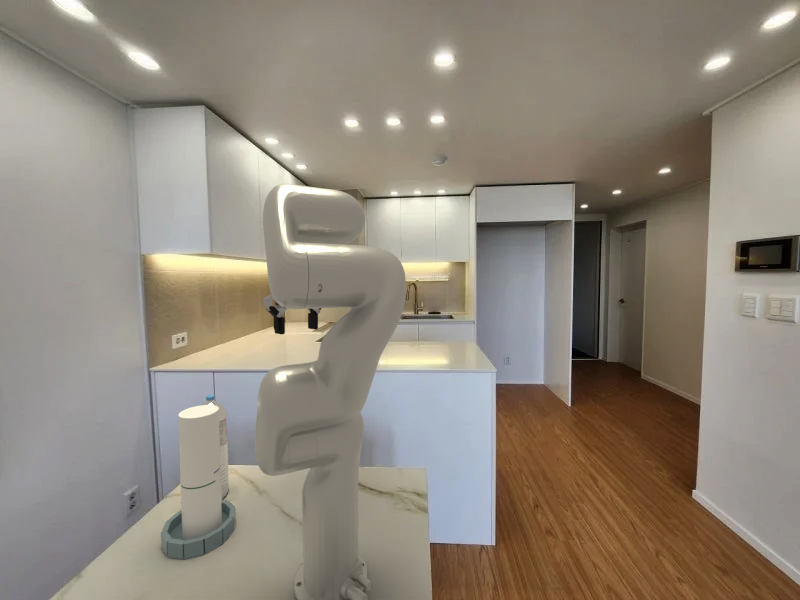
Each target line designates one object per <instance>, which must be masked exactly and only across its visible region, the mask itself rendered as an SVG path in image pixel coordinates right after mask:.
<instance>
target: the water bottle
mask: <svg viewBox="0 0 800 600" xmlns="http://www.w3.org/2000/svg"><path fill="white" fill-rule="evenodd" d="M205 399H206V400H205V401H206V402H205V403H204V404H202V405H215V406H218V407H219V433H220V469H221V500H223V499H224V498H225V497H226V496H227V495H228V492H229V488H230V487H229V484H230V483H229V482H230V481H229V479H230V477H229V452H228V451H229V448H228V447H229V446H228V443H229V442H228V433H227V432H228V430H227V429H228V428H227V426H228V425H227V416H228V414H227V413H228V411H227V409H226V407H224V405H223V404H221V403H220V402H218V401H216V396H215V394H208V395H206V396H205Z"/></svg>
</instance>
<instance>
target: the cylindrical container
mask: <svg viewBox="0 0 800 600" xmlns="http://www.w3.org/2000/svg"><path fill="white" fill-rule="evenodd" d="M177 415H178V441H179V443H178V444H179V475H180V476H179V477H180V503H181V504H180V505H181V510H182V536H183V538H184V539H185V540H190V539H194V538H198V537H202V536H205V535H207V534H209V533H210V532H212V531H214V530H216V529H218V528H219V527H220V526H221V525H222V507H221V500H222V499H221V469H220V433H219V407H218V406H215V405H203V404H202V405H196V406H191V407H188V408H186V409H184V410H182V411H180V412H179V413H178V414H177Z"/></svg>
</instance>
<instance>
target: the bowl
mask: <svg viewBox="0 0 800 600" xmlns="http://www.w3.org/2000/svg"><path fill="white" fill-rule="evenodd" d="M221 507H222V525H221V526H220V527H219V528H218V529H216V530H214V531H212V532H210V533H209V534H207V535H205V536H202V537H198V538H194V539H190V540H185V539H184V538H183V536H182V509H180V510H178V511H177V512H175V514H173V515H172V516H171V517H169V519H167V520H166V522H165V523H164V524H163V528H162V530H161V532H160V541H161V544H160V546H161V550H162V551H163V553H164V555H165V556H166V557H167V558H169V559H175V560H176V559H177V560H188V559H192V558H197V557H199V556H204V554H205V555H207V554H208V553H209V552H211V551H214V549H217V548H218V547H221V546H222V545H223V544H224V543H225V542H226V541H227V540H228V539H229V538H230V537H231V535H232V534H233V533H234V531H236V530H235V528H236V521H237V518H236V516H237V515H236V513H237V512H236V509H237V508H236V506H235V505H234V504H233V502H231V501H229V500H228V499H221Z"/></svg>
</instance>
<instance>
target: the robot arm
mask: <svg viewBox="0 0 800 600" xmlns="http://www.w3.org/2000/svg"><path fill="white" fill-rule="evenodd" d="M365 216H366V215H365V211H364V209H363V207H362V205H361V204H360V202H359V201H358V200H357V199H356V198H355V197H354V196H352V195H351V194H349V193H347V192H345V191H342V190H339V189H331V188H322V187H314V186H309V185H308V186H307V185H299V184H294V183H293V184H292V183H280V184H278V185H275V186H274V187H272V188H271V189H270V191H269V192H268V194H267V196H266V197H265V199H264V204H263V211H262V228H263V230H262V231H263V237H264V247H265V256H266V259H265V260H266V268H267V271H266V272H267V278H268V279H267V280H268V286H269V291H270V294H268V295H267V296H265V297H264V298H263V299H262V303H263V304H264V307H266V309H265V310H266V311H267V312H268V313H269V314H270V316H271V317H272V318H273V330H274V334H275V335H277V334H278V335H285V334H286V321H285V320H286V319H285V318H286V317H284V316H283V315H284V314H285V313H286V311H287V310H288V309H291V310H304V309H307V311H308V314H307V328H308V329H309V330H314V331H315V330H318V329H319V314H320V313H321V310H322V309H334V308H336V309H337V308H351V309H350V310H349V311H348V312H347V313H346V314H344V315H343V316H342V317H340V318H339V319H338V320H337V321H336V322H335V323H334V324H333V325H332V327H330V328H329V329H328V331H327V332H326V334H325V335H324V336H323V338H322V340H321V342H320V346H319V351H318V356H317V359H316V360H315V361H310V362H304V363H295V364H294V363H293V364H287V365H280V366H277V367H273V368H272V369H271V370H269V371H268V372H266V373H265V374H264V376H263V378H262V380H261V382H260V384H259V388H258V395H257V404H256V405H257V407H256V422H255V437H254V453H255V459H256V463H257V466H258V468H259V469H260V470H261V471H260V472H262V473H263V474H265V475H267V476H270V477H275V476H276V477H277V476H283V475H286V474H292V473H294V472H298V471H302V470H303V471H304V470H306V469H309V470H308V472H307V474H306V476H305V478H304V483H303V485H302V493H301V495H302V498H301V499H302V500H301V501H302V558H303V559H302V563H301V564H300V566H299V568H298V569H297V571H296V573H295V576H294V581H293V582H294V583H293V587H294V588H293V590H294V596H295V599H296V600H368V599H369V598H368V594H367V593H365V591H367V592H369V591H370V590H371V589H372V585H373V581H372V580H370V579H369V578H368V566H367V563H366V561H365V559H364V558H363V557H362V555H361V554H359V475H360V473H359V471H360V458H361V454H362V453H361V451H362V446H363V441H364V434H365V432H364V431H365V430H364V429H365V428H364V427H365V425H364V419H363V416H362V415H363V414H362V412H361V411H362V410H363V408H364V406H365V404H366V401H367V398H368V396H369V393H370V390H371V387H372V385H373V384H372V383H373V380H374V378H375V375H376V371H377V368H378V364H379V361H380V358H381V356H382V354H383V352H384V350H385V348H386V347H387V345H388V344H389V342H390V340H391V338H392V336H393V335H394V333H395V332H396V329H397V327H398V324H399V323H400V320H401V318H402V315H403V313H404V311H403V310H404V307H405V304H406V303H405V302H406V293H407V284H406V283H407V281H406V280H407V279H406V273H405V272H406V271H405V269H404V266H403V264H402V261H401V260H400V259H399V258H398V257H397V256H396V255H395V254H394V253H392V252H390V251H388V250H386V249H382V248H380V247H376V246H369V245H359V244H350V243H352V242H353V241H355V240H356V239H358V237H359V236H360V235H361V234H362V232H363V231H364V228H365V222H366V217H365ZM273 301H274V304H275V305H273Z"/></svg>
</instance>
